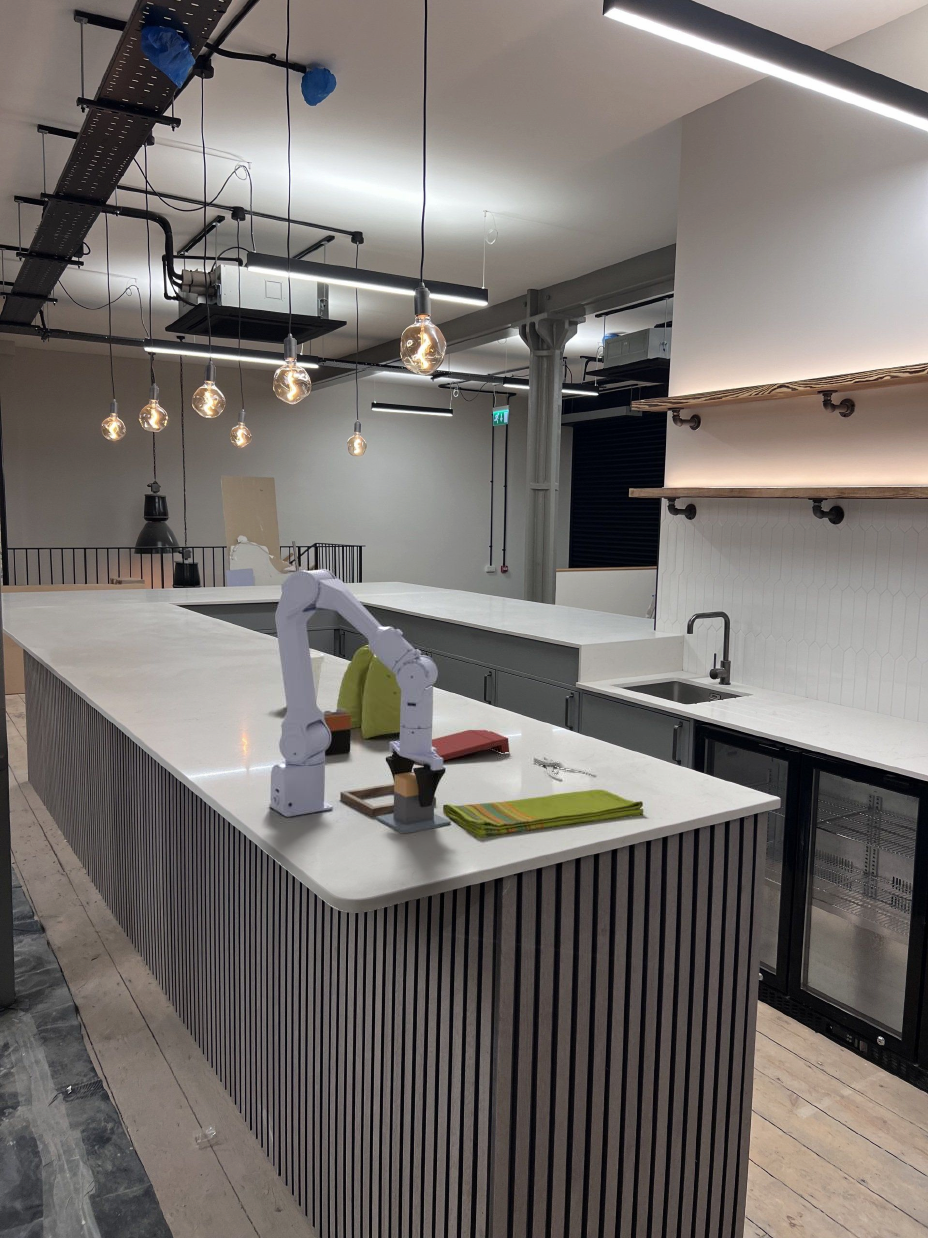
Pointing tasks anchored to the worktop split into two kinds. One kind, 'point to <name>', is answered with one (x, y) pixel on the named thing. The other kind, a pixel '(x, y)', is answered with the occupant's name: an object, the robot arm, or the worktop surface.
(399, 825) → the mat
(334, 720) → the battery
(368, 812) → the frame
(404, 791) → the orange grey tall block
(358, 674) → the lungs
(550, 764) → the pliers
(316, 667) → the cup
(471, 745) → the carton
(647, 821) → the worktop surface
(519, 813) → the dish towel
